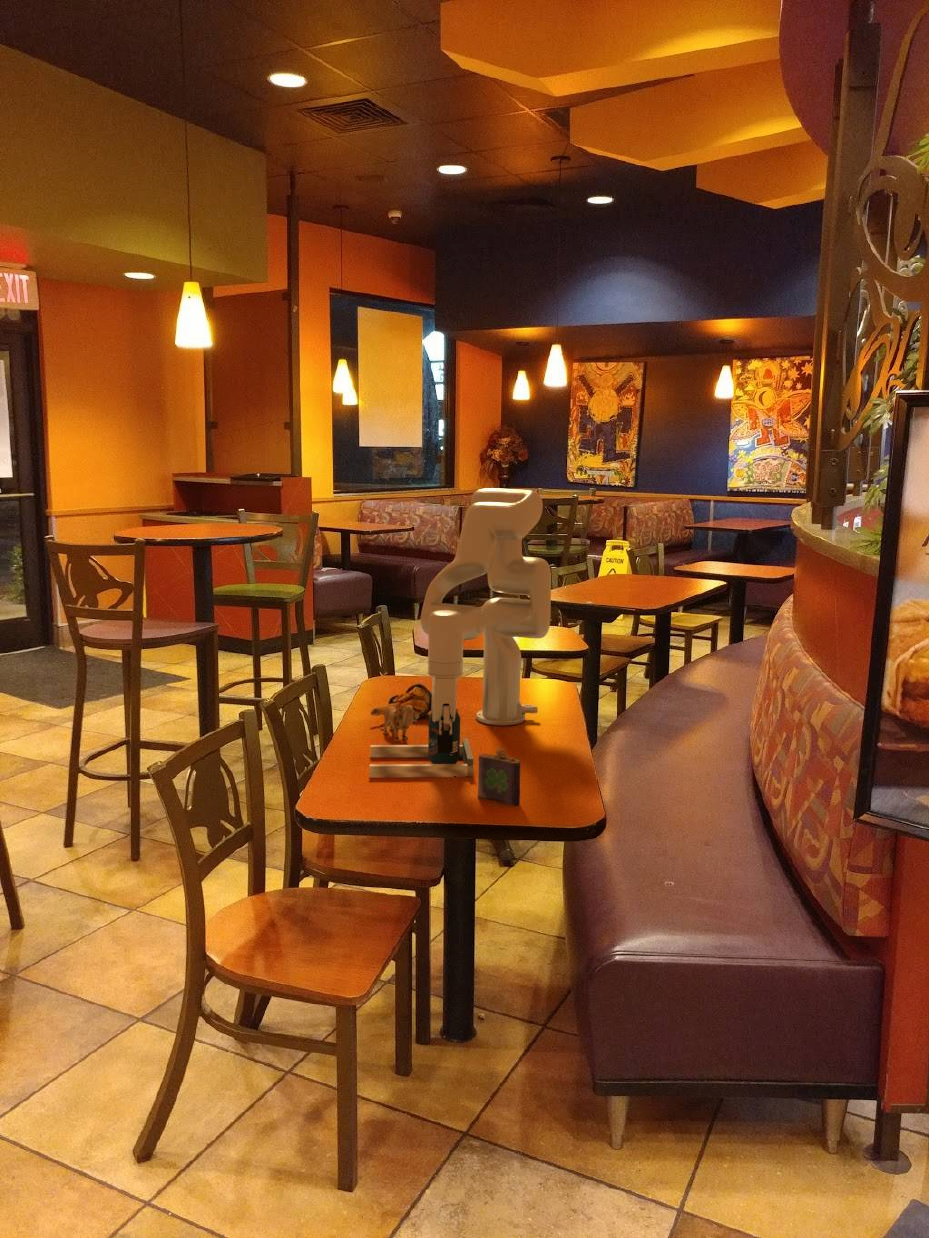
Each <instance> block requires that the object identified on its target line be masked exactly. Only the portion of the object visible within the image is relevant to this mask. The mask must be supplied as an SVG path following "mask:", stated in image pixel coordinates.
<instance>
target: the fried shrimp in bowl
mask: <svg viewBox="0 0 929 1238" xmlns="http://www.w3.org/2000/svg"><path fill="white" fill-rule="evenodd" d="M431 702H432V691H430V690H429V689H428V688H427V687H426V686H425V685H424V684H422V683H415V684H412V685H411V686H409V687H408V688H407V690H406V691H405V693H400V694H396V695H393V696H391V697H390V699H389V700H388V704H387V705H381V706H378V707H376V708H373V709H371V711H370V715H371V716H375V717H376V716H381V715H383V716H384V714H385V710H386V708H387V707H389V706H394V707H395V708H396V709H398V708H400V707H403V706H406V705H411V706H413V707H412V708H413V710H414V711H415V712H417V713H418V714H419V717H418V718H417V719H420V718H421V717H425V716H427V715H428V714H429V713H431Z"/></svg>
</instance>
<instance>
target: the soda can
mask: <svg viewBox="0 0 929 1238" xmlns="http://www.w3.org/2000/svg"><path fill="white" fill-rule="evenodd" d="M458 710H459V709H458V708H456V714H455V721H454V722H452V734H453V751H452V752H451V753H439V752H438V734H439V721H436V722H433V720H432V712H431V711H430V714H429V717H428V744H427V745H428V757H427V758H428V760H429V762H430V764H458V762H459V760H460V758H461V757H460V745H461V716H460V713H459V711H458ZM452 718H453V717H452ZM441 720H443V718H441ZM449 720H450V718H449ZM442 725H443V724H442Z"/></svg>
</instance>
